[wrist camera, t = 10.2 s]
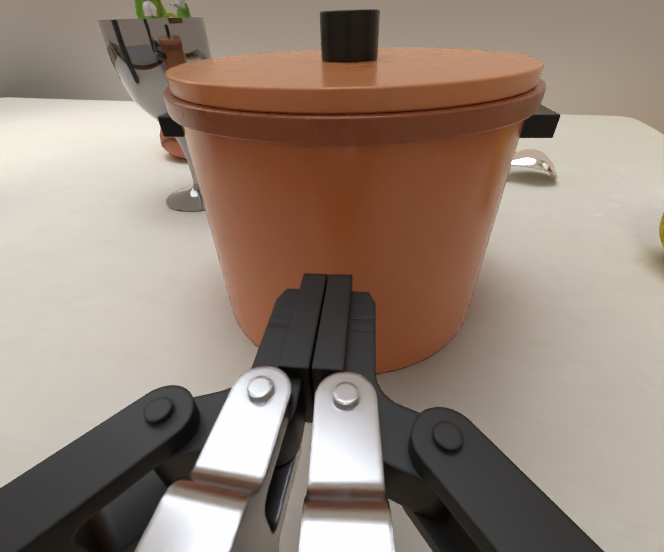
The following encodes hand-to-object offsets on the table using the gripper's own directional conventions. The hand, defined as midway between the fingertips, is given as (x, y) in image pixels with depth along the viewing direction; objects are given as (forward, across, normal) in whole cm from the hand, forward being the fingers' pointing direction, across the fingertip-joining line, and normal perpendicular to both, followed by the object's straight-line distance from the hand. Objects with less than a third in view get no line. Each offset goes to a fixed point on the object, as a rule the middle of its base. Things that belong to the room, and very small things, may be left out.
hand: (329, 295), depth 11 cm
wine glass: (+24, +17, +8) cm, 30 cm away
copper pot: (+10, 0, +8) cm, 13 cm away
